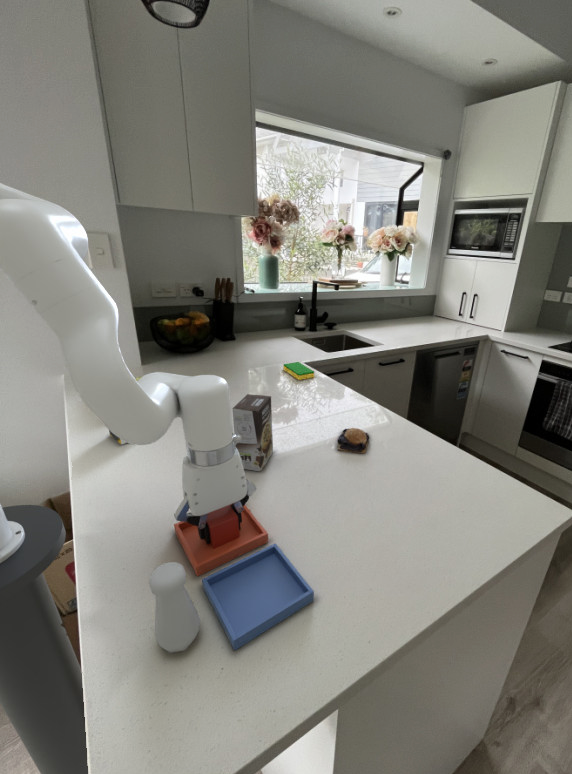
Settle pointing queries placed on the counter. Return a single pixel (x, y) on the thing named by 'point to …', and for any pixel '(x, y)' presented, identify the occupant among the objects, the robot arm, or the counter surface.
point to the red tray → (210, 558)
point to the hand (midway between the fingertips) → (221, 531)
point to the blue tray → (256, 594)
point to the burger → (353, 440)
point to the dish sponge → (298, 370)
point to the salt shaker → (173, 608)
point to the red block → (222, 526)
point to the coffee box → (254, 430)
